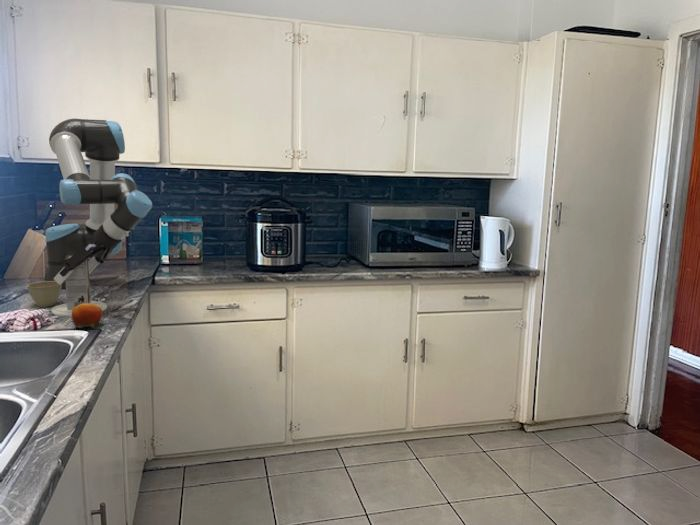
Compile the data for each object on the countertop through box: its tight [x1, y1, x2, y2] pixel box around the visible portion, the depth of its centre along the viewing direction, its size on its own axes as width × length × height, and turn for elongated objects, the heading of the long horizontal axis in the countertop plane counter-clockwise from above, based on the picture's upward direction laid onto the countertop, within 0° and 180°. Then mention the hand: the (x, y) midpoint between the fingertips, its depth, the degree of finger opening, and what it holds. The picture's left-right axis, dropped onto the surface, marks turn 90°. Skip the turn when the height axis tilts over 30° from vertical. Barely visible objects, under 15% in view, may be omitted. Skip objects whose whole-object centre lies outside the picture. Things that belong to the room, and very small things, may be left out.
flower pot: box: [27, 280, 62, 308], centre depth 181 cm, size 10×10×7 cm
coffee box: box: [64, 255, 92, 310], centre depth 174 cm, size 9×6×16 cm
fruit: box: [71, 303, 103, 329], centre depth 157 cm, size 8×8×8 cm
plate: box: [51, 300, 108, 318], centre depth 175 cm, size 16×16×1 cm
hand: (70, 277), depth 174 cm, fingers open, 13 cm apart
